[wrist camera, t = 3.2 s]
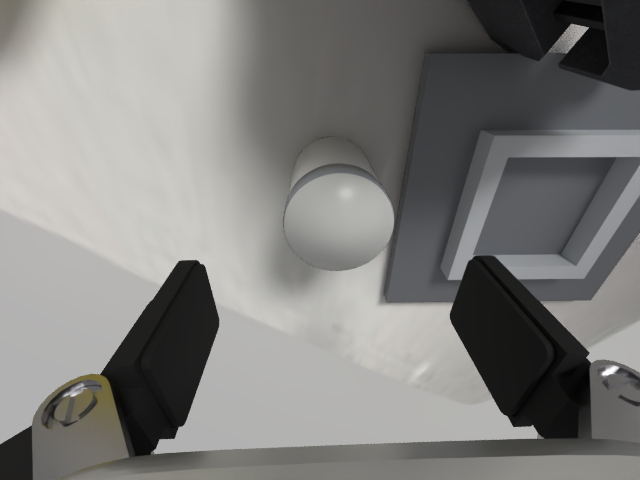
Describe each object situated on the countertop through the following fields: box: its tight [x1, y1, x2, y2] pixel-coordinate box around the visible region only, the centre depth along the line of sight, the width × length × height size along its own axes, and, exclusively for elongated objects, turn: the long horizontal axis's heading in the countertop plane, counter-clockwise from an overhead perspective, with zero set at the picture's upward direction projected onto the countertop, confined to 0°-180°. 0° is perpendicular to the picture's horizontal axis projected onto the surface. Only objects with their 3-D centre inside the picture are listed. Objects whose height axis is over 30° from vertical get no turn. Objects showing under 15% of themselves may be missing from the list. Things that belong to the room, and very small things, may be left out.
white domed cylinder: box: [283, 137, 394, 271], centre depth 16 cm, size 5×5×7 cm
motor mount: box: [384, 53, 640, 303], centre depth 19 cm, size 18×18×2 cm
